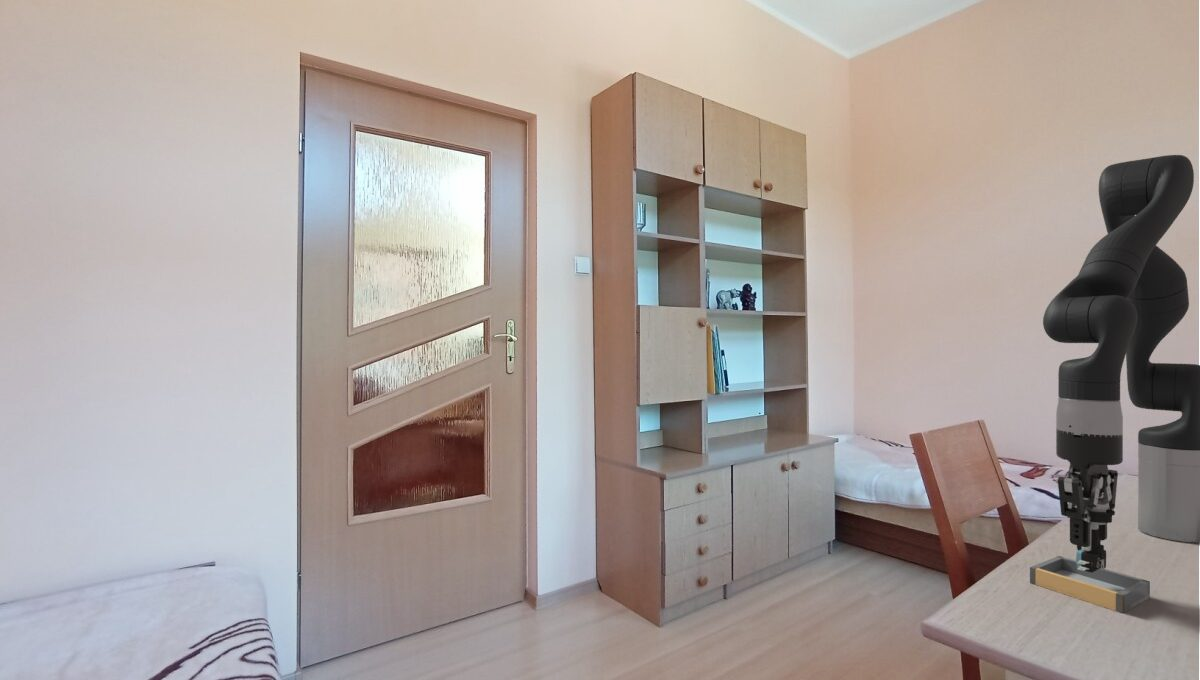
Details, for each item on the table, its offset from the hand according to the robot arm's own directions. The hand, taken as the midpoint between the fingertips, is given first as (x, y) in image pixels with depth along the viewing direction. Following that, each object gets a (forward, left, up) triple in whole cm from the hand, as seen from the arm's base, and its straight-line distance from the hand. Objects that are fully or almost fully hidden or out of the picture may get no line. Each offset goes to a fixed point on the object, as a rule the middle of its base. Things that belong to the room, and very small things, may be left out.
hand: (1088, 541), depth 84 cm
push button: (+1, 0, -4) cm, 4 cm away
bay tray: (0, 0, -7) cm, 7 cm away
